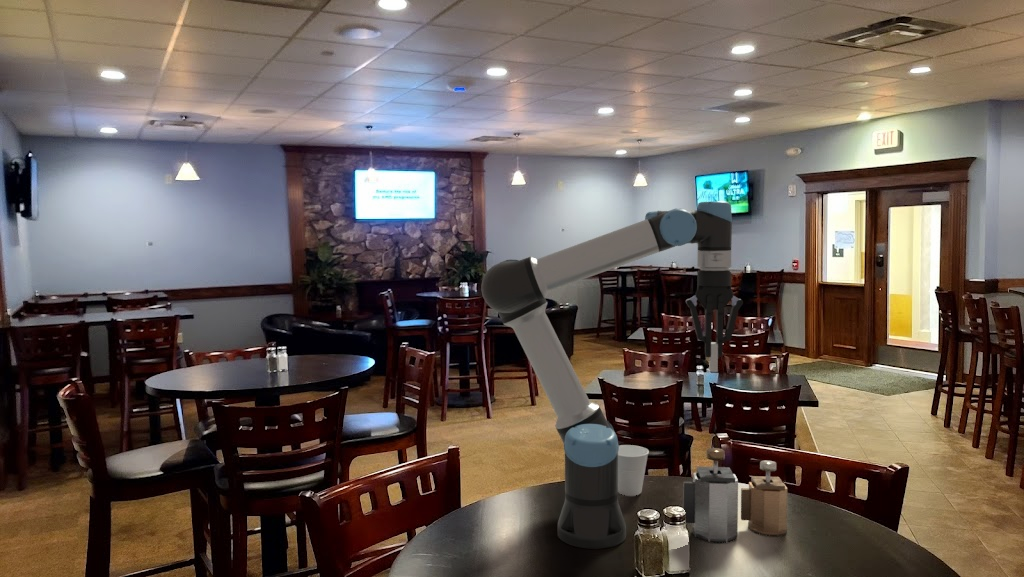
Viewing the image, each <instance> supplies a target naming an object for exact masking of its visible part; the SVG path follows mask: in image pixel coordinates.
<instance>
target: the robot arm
mask: <svg viewBox="0 0 1024 577" xmlns="http://www.w3.org/2000/svg"><path fill="white" fill-rule="evenodd" d="M732 214H733V213H732V205H731V204H730V203H729V202H728V201H718V200H717V201H700V202H699V203H698V204H697V208H696V210H695V209H694V210H686V209H684V208H673V209H671V210H657V211H648V212H646V213H645V216H644V220H641V221H639V222H635V223H633V224H630V225H627V226H624V227H622V228H619V229H616V230H614V231H611V232H607V233H605V234H603V235H599V236H598V237H597V236H596V237H594V238H592V239H588V240H586V241H584V242H580V243H577V244H574V245H572V246H569V247H567V248H564V249H561V250H557V251H556V252H553V253H550V254H547V255H544V256H542V257H539V258H536V257H533V256H529V257H526V258H522V259H519V260H518V259H506V260H503V261H500V262H499V263H496V264H494V265H493V266H491V267H490V268H489V269H488V270H486V272H485V274H484V275H483V277H482V280H481V293H482V294H481V296H482V297H483V299H484V301H485V304H487V305H488V307H490V308H491V309H492V310H493V311H495V312H497V314H498V316H499V317H500V320H501V322H502V324H503V325H504V326H507V327H509V328H511V329H513V331H514V333H515V336H516V337H517V340H518V341H519V343H520V345H521V348H522V349H523V352H524V353H525V355H526V357H527V360H528V362H529V363H530V365H531V367H532V369H533V371H534V373H535V375H536V377H537V379H538V381H539V383H540V385H541V387H542V389H543V391H544V393H545V395H546V397H547V400H549V401H548V402H549V403H550V405H551V407H552V409H553V411H554V413H555V415H556V418H557V419H556V423H555V429H556V431H557V434H558V435H559V437H560V439H561V441H562V443H563V451H564V503H563V505H562V508H561V511H560V514H559V518H558V521H557V530H556V531H557V537H558V539H560V540H561V541H562V542H564V543H565V544H568V545H570V546H573V547H576V548H579V549H580V548H581V549H588V550H589V549H592V550H595V549H596V550H597V549H600V550H601V549H606V548H612V547H615V546H618V545H619V544H622V543H623V542H624V541H625V540H626V539H627V525H626V520H625V518H624V516H623V515H624V514H623V512H622V509H621V507H620V504H619V492H618V450H619V446H620V445H619V440H618V435H617V434H616V432H615V430H614V427H613V425H612V424H611V423H610V422H609V420H607V419H606V416H605V415H604V412H603V411H602V409H601V406H600V405H599V404H598V403H596V402H592V401H591V400H590V399H589V397H588V395H587V393H586V391H585V389H584V387H583V385H582V383H581V381H580V379H579V377H578V375H577V373H576V371H575V370H574V367H573V365H572V363H571V361H570V359H569V357H568V355H567V354H566V351H565V349H564V347H563V345H562V343H561V341H560V340H559V338H558V335H557V333H556V331H555V329H554V327H553V325H552V323H551V321H550V319H549V317H548V315H547V314H546V309H547V306H548V300H546V299H547V297H548V294H549V293H550V292H552V291H554V290H558V289H559V288H560V289H561V288H563V287H565V286H569V285H571V284H573V283H577V282H579V281H582V280H585V279H588V278H590V277H593V276H596V275H598V274H601V273H604V272H607V271H610V270H613V269H615V268H619V267H621V266H624V265H626V264H630V263H632V262H635V261H638V260H640V259H643V258H647V257H649V256H652V255H654V254H657V253H660V252H664V251H667V250H670V249H671V248H675V247H681V246H684V245H687V244H696V245H697V268H698V269H699V270H698V271H697V272H696V273H697V274H696V275H697V276H696V277H697V278H696V279H697V284H696V285H697V286H696V290H695V292H694V295H693V296H692V297H690V298H687V299H686V300H685V304H686V305H687V307H688V308H689V309H690V314H691V318H692V319H691V320H692V322H693V326H694V331H695V336H696V339H697V340H699V342H700V341H701V342H703V343H704V355H705V357H706V358H709V372H712V373H718V372H719V369H718V368H719V367H718V366H719V365H718V364H719V363H718V362H719V361H718V359H719V358H722V357H723V353H724V350H723V349H724V348H723V347H724V346H723V345H724V343H725V342H729V341H731V340H732V337H733V333H734V329H735V324H736V322H737V318H738V313H739V310H740V309H741V307H742V306H743V305H744V301H743V300H742V299H741V298H738V297H736V295H734V294H735V293H734V292H733V290H732V271H731V270H730V268H732V238H733V237H732V236H733V235H732V234H733V230H732V229H733V219H732V218H733V217H732V216H733V215H732ZM697 301H698V302H699V303H700V305H701V306H702V308H704V334H703V331H702V326H701V322H700V318H699V314H698V309H697V305H698V302H697ZM730 301H731V303H730ZM729 303H730V305H731V309H730V313H729V317H728V320H727V324H726V328H725V331H724V312H725V311H724V309H725V308H726V307H727V305H728V304H729ZM713 310H715V322H716V323H715V341H712V329H713V328H712V324H713V323H712V321H713V320H712V314H713Z"/></svg>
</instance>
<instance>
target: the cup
mask: <svg viewBox="0 0 1024 577" xmlns="http://www.w3.org/2000/svg"><path fill="white" fill-rule="evenodd" d="M649 454H650V450H649V449H648V448H646V447H643V446H639V445H633V444H632V445H631V444H621V445H619V450H618V494H619V495H621V494H622V495H621V496H624V495H625V497H636V495H637V496H639V495H640V494H642V491H643V486H644V485H643V484H644V479H645V473H646V467H647V461H648V456H649Z"/></svg>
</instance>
